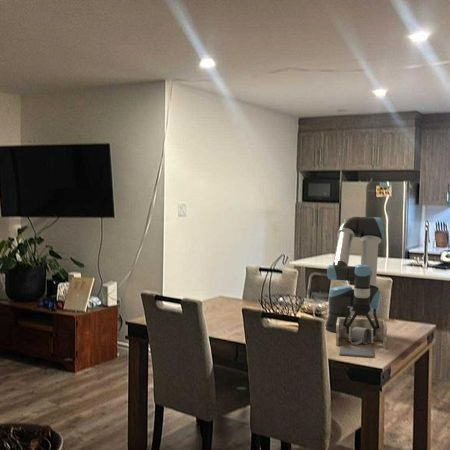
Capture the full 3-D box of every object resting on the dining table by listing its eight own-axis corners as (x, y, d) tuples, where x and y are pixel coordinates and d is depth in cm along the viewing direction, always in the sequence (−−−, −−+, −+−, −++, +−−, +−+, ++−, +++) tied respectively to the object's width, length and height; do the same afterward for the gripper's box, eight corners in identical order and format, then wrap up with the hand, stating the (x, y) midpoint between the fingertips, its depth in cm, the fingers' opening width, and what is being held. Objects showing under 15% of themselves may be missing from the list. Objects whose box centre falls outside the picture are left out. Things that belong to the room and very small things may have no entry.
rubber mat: (339, 355, 256) (339, 353, 256) (340, 347, 269) (340, 346, 269) (373, 357, 253) (373, 356, 253) (372, 350, 266) (372, 348, 266)
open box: (335, 345, 273) (336, 324, 272) (337, 336, 290) (337, 317, 289) (386, 349, 268) (386, 328, 267) (384, 339, 284) (385, 320, 284)
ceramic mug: (357, 339, 284) (357, 324, 284) (371, 342, 279) (371, 327, 278) (345, 343, 277) (345, 328, 276) (360, 347, 271) (360, 331, 270)
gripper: (338, 296, 276) (337, 341, 277) (386, 299, 271) (384, 345, 272) (338, 294, 283) (337, 337, 285) (385, 296, 278) (384, 341, 280)
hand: (360, 341), depth 278 cm, fingers closed on ceramic mug, 10 cm apart
